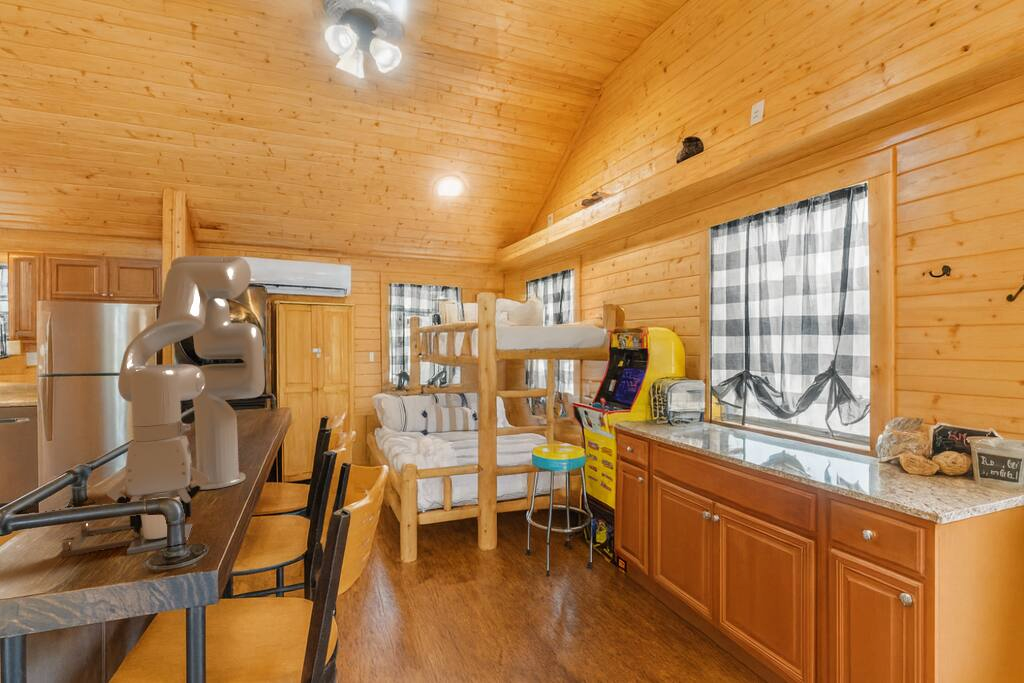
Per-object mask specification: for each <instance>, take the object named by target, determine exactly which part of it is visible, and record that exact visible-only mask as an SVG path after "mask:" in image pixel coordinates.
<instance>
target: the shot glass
mask: <svg viewBox="0 0 1024 683" xmlns="http://www.w3.org/2000/svg"><path fill="white" fill-rule="evenodd" d="M159 497H170V498H175V499H178V500H179V501H180V502H182V498H181V496H180V495H179V493H178V492H177V491H171V492H164V493H157V494H150V495H145V496H143V497H141V499H140V500H144V499H149V498H159ZM140 516H141V522H142V529H143V535H144V538H146V539H157V538H163V537H167V524H166V520H165V517H164V516H163V515H140Z"/></svg>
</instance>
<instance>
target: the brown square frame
mask: <svg viewBox="0 0 1024 683" xmlns="http://www.w3.org/2000/svg"><path fill="white" fill-rule="evenodd" d="M131 528H133V530H132V529H131ZM123 529H127V530H132V533H133V534H132V535H133V537H129V538H124V539H123V538H122V539H118V540H111V541H105V542H101V543H100V542H99V543H94V544H89V545H84V546H81V545H82V544H83V543H84V541H85V540H86V539H87V538H88V537H89V536H90V535H91V536H94V535H93V534H97V535H100V534H99V533H103V534H106V533H105V532H109V533H112V532H111V531H115V532H118V531H117V530H121V531H124V530H123ZM91 536H90V537H91ZM142 537H143V529H142V527H141V529H140V530H139V531H138V532H134V527H130V521H129V522H124V523H123V522H122V523H117V524H112V525H106V526H100V527H99V526H98V527H93V528H90V522H89V521H84V522H81V523H80V531H79V533H78V534H77V535H76V536H75V537H74V538H73V539H72V540H65V541H63V542H61V543H62V544H61V546H62V550H61V558H63V557H64V558H68V557H73V556H74V557H75V556H80V555H85V554H84V553H86V554H90V553H89V552H91V553H93V552H92V551H97V550H101V549H108V550H110V549H109V548H113V549H116V548H115V547H119V548H122V547H121V546H125V547H127V546H126V545H131V543H132V541H134V540H140V539H141V538H142ZM82 542H83V543H82ZM81 543H82V544H81ZM97 552H98V551H97ZM79 554H80V555H79Z"/></svg>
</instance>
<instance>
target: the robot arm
mask: <svg viewBox="0 0 1024 683" xmlns="http://www.w3.org/2000/svg"><path fill="white" fill-rule="evenodd" d="M251 277H252V272H251V267H250V265H249V263H248V261H247V260H246V259H245V258H243V257H242V256H241V257H240V256H225V255H224V256H222V255H220V256H219V255H218V256H216V255H215V256H213V255H187V256H186V255H185V256H179V257H176V258H175V259H173V260H172V261H171V263H170V268H169V269H168V271H167V274H166V277H165V282H164V288H163V292H162V297H161V303H160V307H159V312H158V317H157V319H156V320H155V321H153V322H152V323H151V324H149V325H148V326H146V328H144V329H143V330H142V331H140V332H139V333H138V334H137V336H135V337H134V338H133V339H132V340H131V342H130V343H129V344H128V345H127V347H126V349H125V351H124V353H123V357H122V360H121V365H120V370H119V374H118V383H117V385H118V386H117V388H118V392H119V394H120V396H121V398H123V400H125V401H126V402H129V403H131V414H132V415H131V417H132V441H130V442H129V443H128V448H127V454H126V462H125V463H126V464H125V476H124V477H123V478H122V479H121V480H119V481H118V482H117V483H115V485H113V486H112V487H111V488H110V489H109V490H108V491H107V492H106V495H107V497H109V498H110V499H112V500H113V501H115V502H116V503H117V504H118V503H127V502H133V501H139V500H140V499H141V498H143V497H144V496H149V495H153V494H157V493H164V492H178V493H179V495H180V496H181V498H182V502H181V503H182V505H183V509H184V513H185V524H187V522H188V519H189V518H190V517H192V500H193V498H194V497H195V496H197V494H199V492H200V491H201V490H216V489H222V488H226V487H227V488H228V487H231V486H233V485H236V484H237V485H238V484H240V483H242V482H243V481H245V479H246V474H245V473H243V472H241V471H239V470H240V469H239V446H238V445H239V444H238V443H239V442H238V422H237V418H238V417H237V414H236V411H235V410H234V409H233V407H232V406H231V405H230V404H229V403H228V402H227V401H228V400H229V401H230V400H240V399H242V400H243V399H254V398H258V397H260V396H261V395H263V393H264V391H265V385H266V383H265V382H266V379H265V377H266V376H265V360H264V344H263V343H264V341H263V337H262V331H261V329H260V327H258V325H256V324H254V323H250V322H232V321H231V315H230V305H229V302H228V301H227V300H229V299H230V300H231V299H235V298H238V297H239V296H240V295H241V294H242V293H243V292H244V291H245V290H246V289H247V288H248V287H249V285H250V283H251V279H252V278H251ZM190 337H193V348H194V352H195V354H196V356H198V358H201V359H204V360H230V359H231V360H232V359H237V360H238V359H240V360H242V361H243V362H241V363H213V364H205V365H201V366H196V365H194V364H187V363H181V364H179V363H178V364H147V363H148V362H149V360H150V358H151V357H152V356H153V355H154V354H156V353H157V352H159V351H160V350H162V349H164V348H166V347H168V346H170V345H174V344H175V343H178V342H180V341H183V340H185V339H187V338H190ZM190 400H192V402H193V411H194V427H195V428H194V429H195V430H194V431H195V452H196V455H195V456H196V468H195V467H193V464H192V463H193V462H192V455H191V454H192V453H191V448H190V442H189V440H188V437H187V435H183V434H184V433H185V432H188V431H191V423H185V422H183V420H182V408H181V406H182V405H181V401H182V402H183V401H190ZM189 486H190V488H191V489H189ZM124 487H125V493H126V494H127V495H126V494H123V493H122V492H121V490H122V489H123V488H124ZM128 496H131V498H130V497H128ZM142 496H143V497H142ZM129 522H130V527H134V528H133V530H134V532H138V531H139V530H140V529H141V527H142V522H141V516H140V515H136V516H130V515H129Z"/></svg>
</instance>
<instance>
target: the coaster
mask: <svg viewBox="0 0 1024 683" xmlns="http://www.w3.org/2000/svg"><path fill="white" fill-rule="evenodd" d="M193 524H194V523H188V524H187V523H186V524H184V525H185V537H186V541H187V540H188V537H189V534H190V531H191V528H192V526H194V525H193ZM192 529H193V528H192ZM191 532H192V531H191ZM190 535H191V534H190ZM189 538H190V537H189ZM188 541H189V540H188ZM166 546H167V537H163V538H157V539H146V538H144V535H143V537H142V538H141V539H140V540H134V541H132V543H131V545H130V546H129V547H128V548H127V549H126V555H128V556H129V555H132V554H140V553H144V552H150V551H155V550H160V549H166V548H165V547H166Z"/></svg>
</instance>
